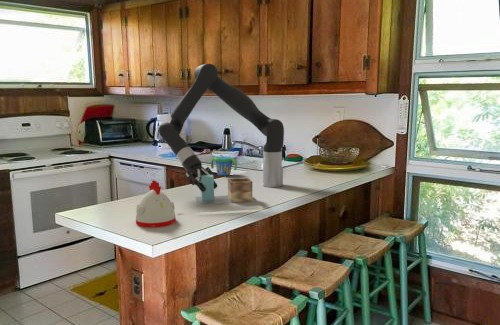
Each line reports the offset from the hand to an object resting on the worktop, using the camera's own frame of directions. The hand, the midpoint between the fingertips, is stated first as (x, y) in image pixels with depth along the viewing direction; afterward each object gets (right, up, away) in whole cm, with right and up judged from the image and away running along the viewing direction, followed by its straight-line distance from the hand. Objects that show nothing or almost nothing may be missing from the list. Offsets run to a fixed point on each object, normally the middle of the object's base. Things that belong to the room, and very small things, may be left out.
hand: (210, 189), depth 184 cm
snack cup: (+2, +4, +65) cm, 65 cm away
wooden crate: (+13, -5, +1) cm, 14 cm away
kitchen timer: (-17, -10, -28) cm, 35 cm away
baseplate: (+6, -5, +1) cm, 8 cm away
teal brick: (-1, -4, +1) cm, 5 cm away
